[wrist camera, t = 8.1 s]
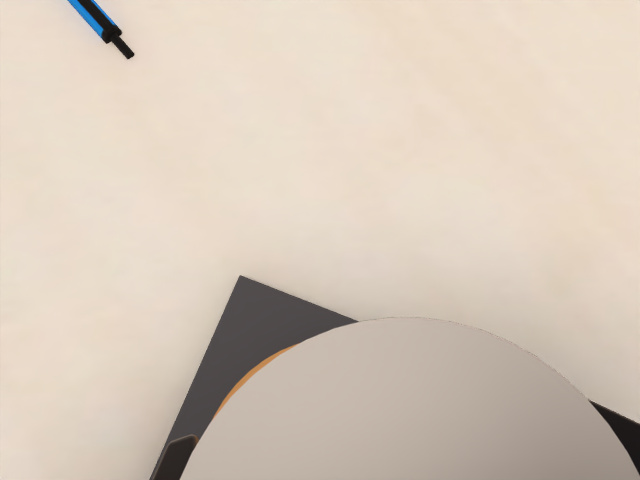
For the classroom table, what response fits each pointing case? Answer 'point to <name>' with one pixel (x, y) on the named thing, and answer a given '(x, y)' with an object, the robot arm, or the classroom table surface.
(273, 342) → the mat
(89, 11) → the pen
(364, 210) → the classroom table surface
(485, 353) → the plug
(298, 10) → the classroom table surface
